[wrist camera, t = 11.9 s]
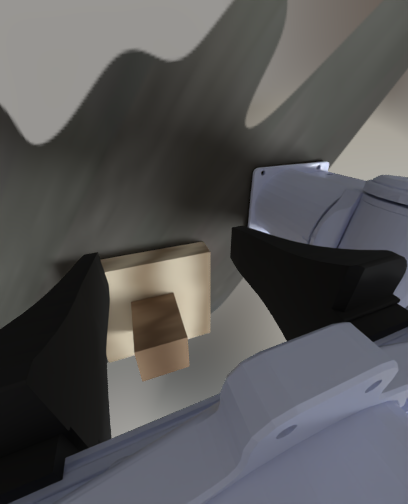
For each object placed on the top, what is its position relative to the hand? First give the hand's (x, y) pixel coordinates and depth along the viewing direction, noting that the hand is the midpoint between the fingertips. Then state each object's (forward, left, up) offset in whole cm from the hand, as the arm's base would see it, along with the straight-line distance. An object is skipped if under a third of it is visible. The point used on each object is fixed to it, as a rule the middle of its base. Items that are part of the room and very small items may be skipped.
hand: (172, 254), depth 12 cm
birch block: (+1, +12, -11) cm, 16 cm away
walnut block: (+2, +12, -8) cm, 15 cm away
